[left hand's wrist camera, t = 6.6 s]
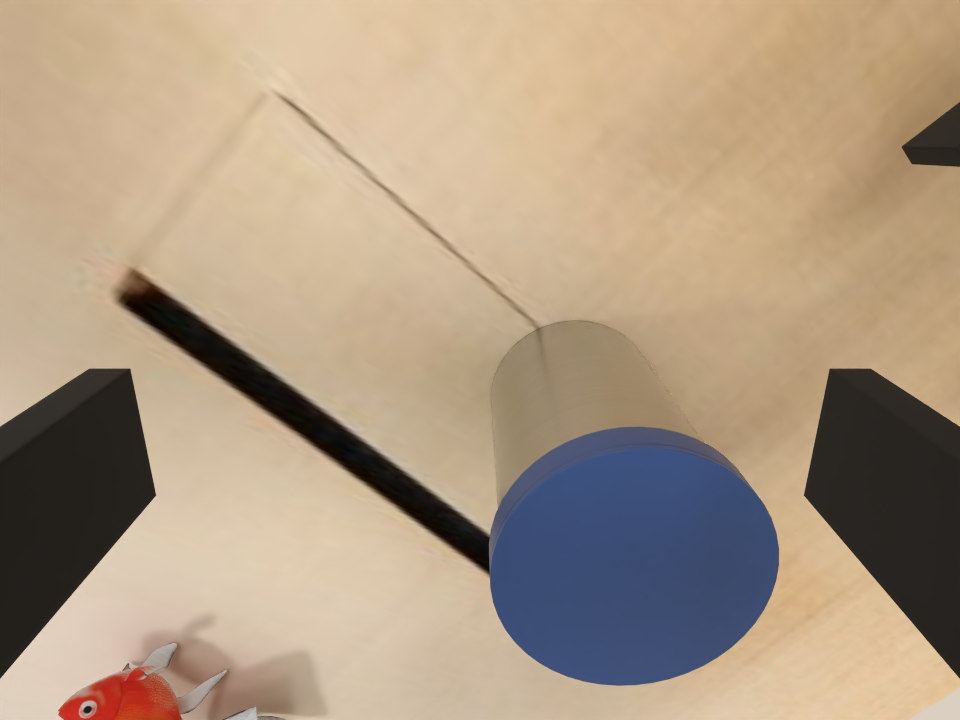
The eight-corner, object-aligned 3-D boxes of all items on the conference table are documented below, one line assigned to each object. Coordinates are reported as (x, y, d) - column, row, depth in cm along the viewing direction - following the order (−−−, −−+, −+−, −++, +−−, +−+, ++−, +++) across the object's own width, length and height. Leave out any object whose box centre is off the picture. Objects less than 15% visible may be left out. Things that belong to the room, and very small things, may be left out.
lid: (541, 392, 24) (546, 413, 23) (808, 468, 26) (832, 493, 24) (455, 619, 28) (454, 651, 26) (692, 676, 29) (706, 710, 28)
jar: (520, 299, 39) (553, 423, 23) (677, 347, 40) (807, 494, 25) (470, 444, 42) (469, 637, 27) (616, 484, 44) (697, 690, 28)
